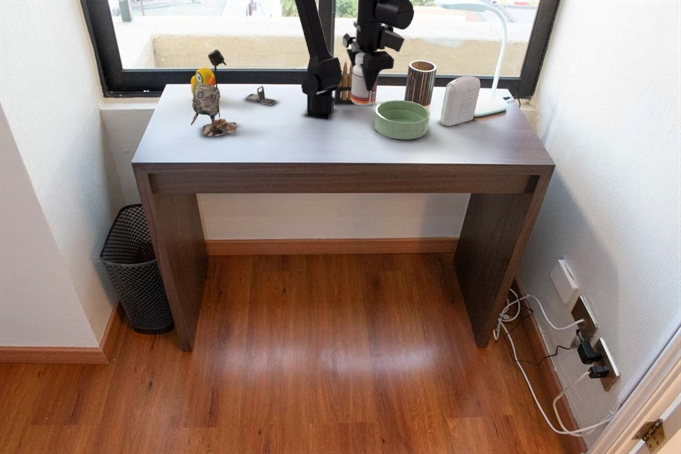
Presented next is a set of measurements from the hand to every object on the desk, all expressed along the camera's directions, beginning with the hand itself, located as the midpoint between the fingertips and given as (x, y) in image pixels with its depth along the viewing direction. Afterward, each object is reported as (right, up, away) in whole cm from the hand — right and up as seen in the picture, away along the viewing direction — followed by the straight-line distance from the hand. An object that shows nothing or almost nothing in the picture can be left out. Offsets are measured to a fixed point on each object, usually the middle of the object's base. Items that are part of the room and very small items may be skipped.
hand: (364, 85), depth 123 cm
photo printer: (+26, -5, +16) cm, 31 cm away
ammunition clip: (-2, +1, +23) cm, 23 cm away
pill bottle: (0, -3, +3) cm, 4 cm away
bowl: (+10, -8, +11) cm, 17 cm away
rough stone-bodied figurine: (-38, -10, +6) cm, 40 cm away
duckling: (-44, +1, +19) cm, 48 cm away
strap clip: (-29, +1, +22) cm, 36 cm away
